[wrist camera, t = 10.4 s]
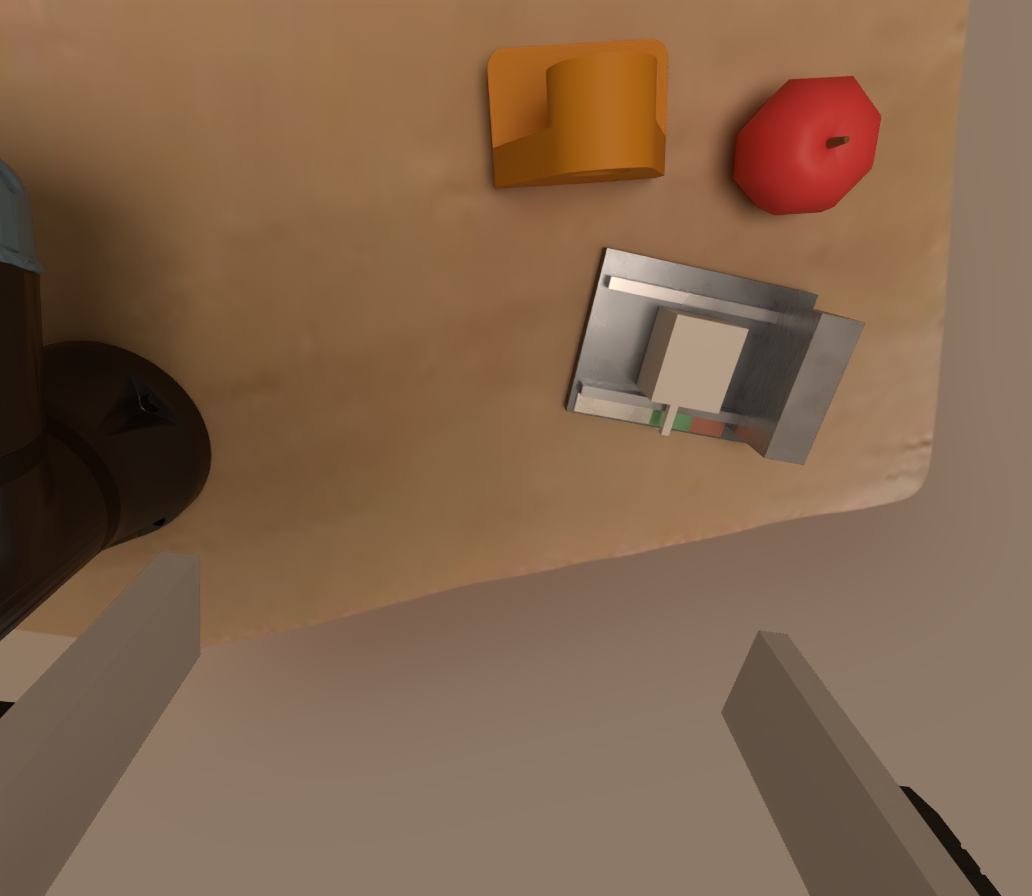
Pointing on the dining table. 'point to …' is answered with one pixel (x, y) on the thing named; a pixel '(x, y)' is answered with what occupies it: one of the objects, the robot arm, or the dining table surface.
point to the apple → (807, 145)
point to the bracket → (578, 112)
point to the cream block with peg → (689, 362)
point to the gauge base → (760, 367)
